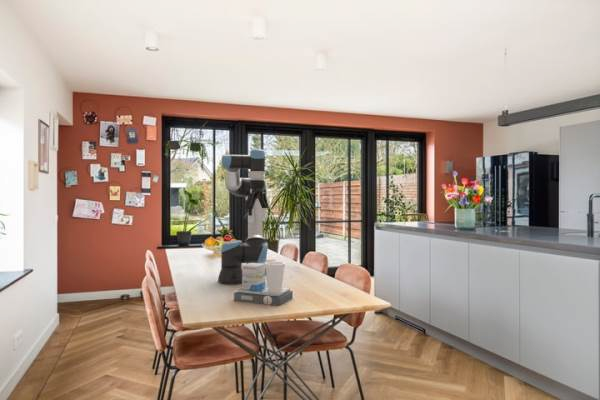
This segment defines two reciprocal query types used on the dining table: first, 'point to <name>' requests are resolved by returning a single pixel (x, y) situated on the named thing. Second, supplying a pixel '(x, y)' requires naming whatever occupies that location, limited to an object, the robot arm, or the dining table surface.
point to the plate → (264, 291)
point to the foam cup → (274, 275)
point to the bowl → (268, 260)
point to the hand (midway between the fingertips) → (257, 221)
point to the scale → (263, 298)
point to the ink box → (253, 276)
